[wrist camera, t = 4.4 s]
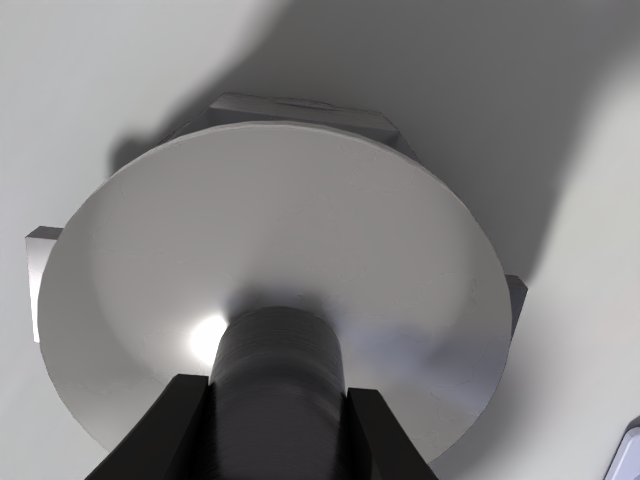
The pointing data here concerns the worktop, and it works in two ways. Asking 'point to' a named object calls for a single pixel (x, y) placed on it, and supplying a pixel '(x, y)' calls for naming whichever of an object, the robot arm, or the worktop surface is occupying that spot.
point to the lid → (275, 298)
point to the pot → (262, 109)
